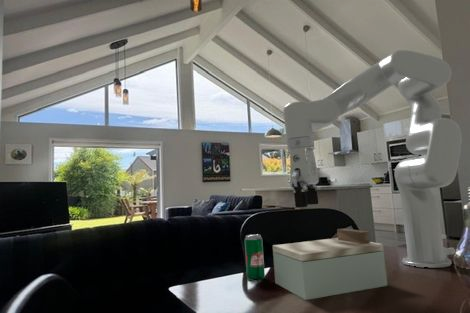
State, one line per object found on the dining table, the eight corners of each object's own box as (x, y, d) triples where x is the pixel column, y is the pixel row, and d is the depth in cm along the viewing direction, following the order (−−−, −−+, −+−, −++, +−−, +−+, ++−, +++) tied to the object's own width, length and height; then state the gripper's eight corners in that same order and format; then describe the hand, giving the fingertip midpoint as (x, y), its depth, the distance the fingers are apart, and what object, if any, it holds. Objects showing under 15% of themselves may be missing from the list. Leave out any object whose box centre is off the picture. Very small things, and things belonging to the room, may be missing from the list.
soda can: (252, 282, 90) (249, 236, 91) (243, 278, 94) (241, 235, 96) (268, 278, 92) (265, 234, 93) (258, 275, 97) (256, 233, 98)
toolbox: (346, 272, 94) (343, 243, 95) (387, 285, 79) (383, 251, 80) (275, 282, 87) (272, 251, 88) (305, 300, 72) (302, 262, 73)
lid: (343, 242, 95) (341, 227, 95) (383, 250, 80) (381, 232, 80) (272, 251, 88) (271, 234, 89) (302, 261, 73) (300, 241, 74)
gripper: (303, 140, 86) (310, 207, 84) (322, 145, 100) (329, 202, 98) (276, 145, 89) (283, 209, 87) (298, 149, 104) (304, 204, 102)
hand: (307, 205), depth 93 cm, fingers open, 9 cm apart
